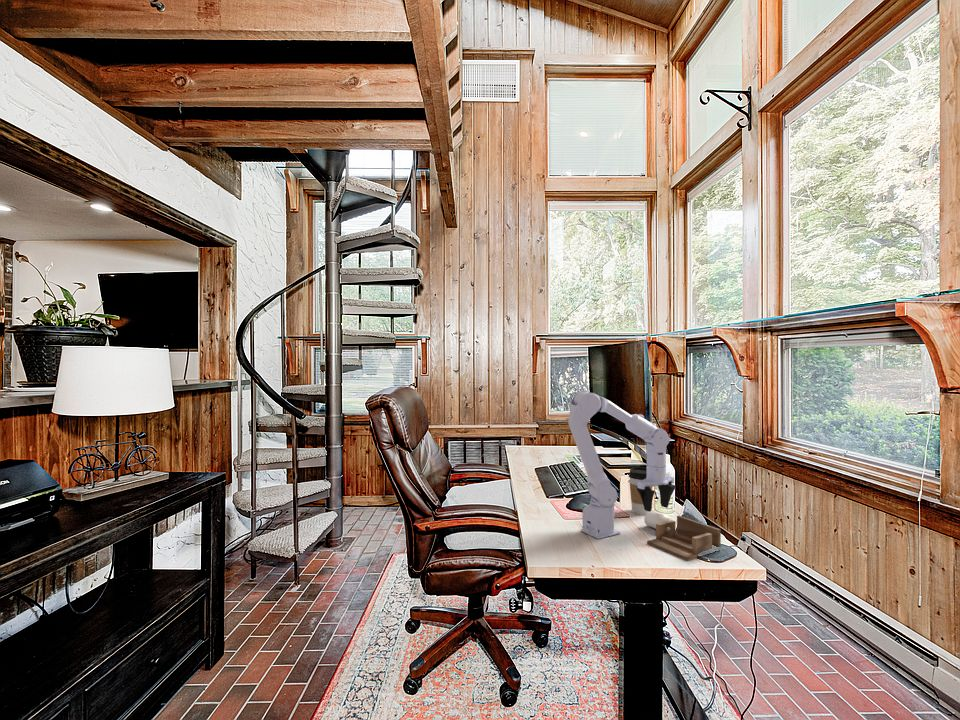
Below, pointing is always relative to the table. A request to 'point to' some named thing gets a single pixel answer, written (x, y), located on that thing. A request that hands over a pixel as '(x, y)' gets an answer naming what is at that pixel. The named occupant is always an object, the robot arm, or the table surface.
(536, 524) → the table surface
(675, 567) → the table surface
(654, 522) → the roll
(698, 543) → the holder
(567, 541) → the table surface
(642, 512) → the coffee cup
